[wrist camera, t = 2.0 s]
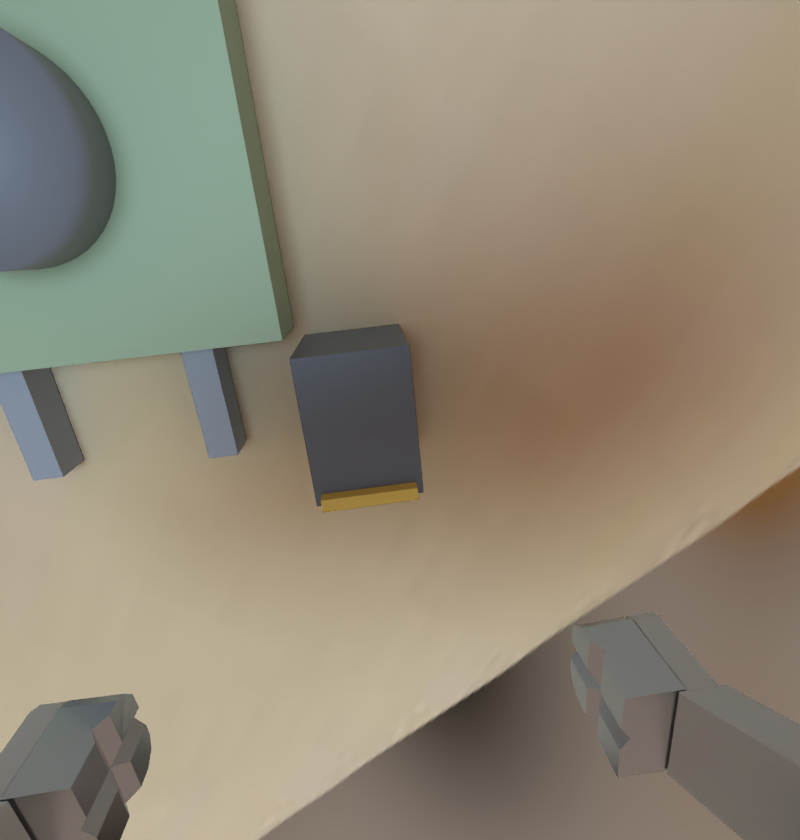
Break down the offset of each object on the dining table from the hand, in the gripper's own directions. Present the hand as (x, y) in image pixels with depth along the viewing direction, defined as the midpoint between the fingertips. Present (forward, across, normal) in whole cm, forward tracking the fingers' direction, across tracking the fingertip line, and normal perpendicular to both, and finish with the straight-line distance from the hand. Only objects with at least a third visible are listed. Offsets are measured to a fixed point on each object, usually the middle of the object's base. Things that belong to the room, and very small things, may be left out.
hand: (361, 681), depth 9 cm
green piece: (+19, +12, -8) cm, 24 cm away
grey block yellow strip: (+19, 0, 0) cm, 19 cm away
